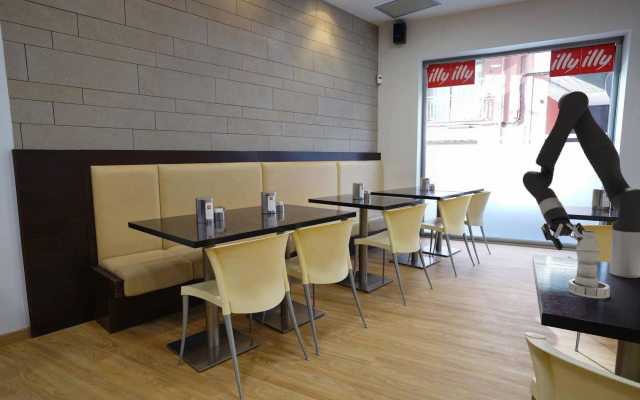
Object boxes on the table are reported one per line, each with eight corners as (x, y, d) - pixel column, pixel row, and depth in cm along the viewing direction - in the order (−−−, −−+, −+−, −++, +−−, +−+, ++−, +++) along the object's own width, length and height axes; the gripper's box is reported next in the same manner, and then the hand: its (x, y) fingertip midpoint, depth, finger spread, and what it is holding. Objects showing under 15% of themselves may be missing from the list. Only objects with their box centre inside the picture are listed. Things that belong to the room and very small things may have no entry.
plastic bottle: (603, 294, 122) (606, 233, 120) (580, 293, 123) (582, 233, 121) (592, 287, 128) (595, 229, 126) (570, 286, 129) (572, 229, 128)
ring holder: (577, 284, 133) (578, 276, 133) (616, 294, 124) (616, 285, 123) (561, 290, 127) (561, 282, 127) (599, 301, 118) (600, 292, 117)
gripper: (539, 206, 140) (558, 243, 129) (577, 206, 140) (599, 242, 130) (530, 218, 145) (548, 254, 135) (567, 218, 146) (586, 254, 136)
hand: (572, 249), depth 132 cm, fingers open, 8 cm apart
